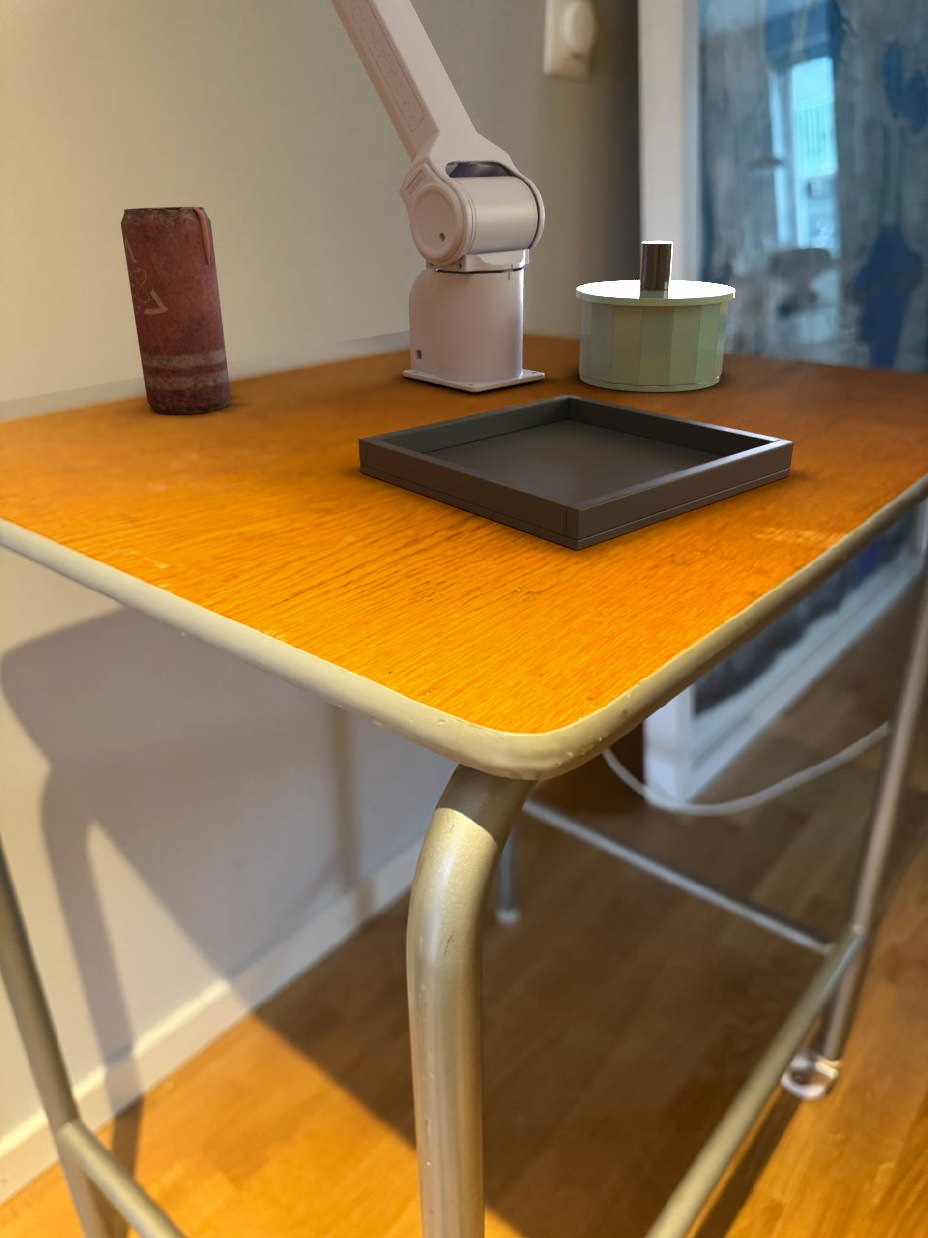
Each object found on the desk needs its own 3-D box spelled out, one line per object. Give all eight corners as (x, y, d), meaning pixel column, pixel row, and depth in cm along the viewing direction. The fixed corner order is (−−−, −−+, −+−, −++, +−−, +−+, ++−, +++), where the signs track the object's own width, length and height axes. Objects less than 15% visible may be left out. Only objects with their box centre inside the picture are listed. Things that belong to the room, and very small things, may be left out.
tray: (359, 472, 58) (357, 438, 57) (567, 422, 68) (568, 393, 67) (577, 550, 46) (578, 510, 45) (789, 475, 56) (794, 441, 55)
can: (214, 416, 71) (188, 207, 65) (133, 414, 72) (101, 208, 66) (247, 398, 76) (226, 204, 71) (172, 396, 78) (145, 205, 72)
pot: (556, 384, 80) (558, 301, 77) (609, 360, 89) (613, 285, 86) (695, 397, 75) (702, 309, 72) (736, 371, 84) (744, 291, 81)
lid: (550, 309, 77) (551, 246, 75) (609, 291, 87) (612, 235, 85) (706, 318, 72) (712, 250, 70) (751, 298, 82) (757, 238, 80)
